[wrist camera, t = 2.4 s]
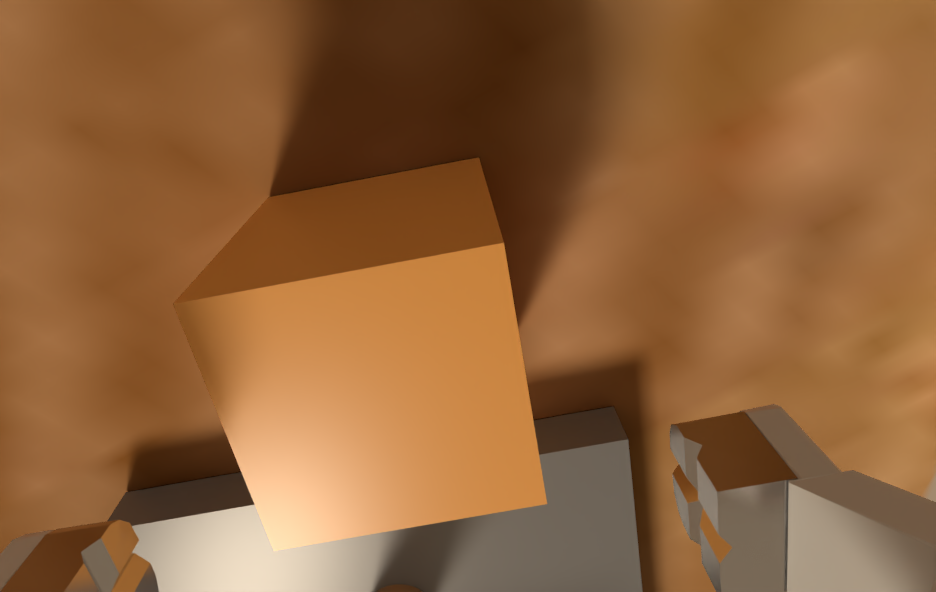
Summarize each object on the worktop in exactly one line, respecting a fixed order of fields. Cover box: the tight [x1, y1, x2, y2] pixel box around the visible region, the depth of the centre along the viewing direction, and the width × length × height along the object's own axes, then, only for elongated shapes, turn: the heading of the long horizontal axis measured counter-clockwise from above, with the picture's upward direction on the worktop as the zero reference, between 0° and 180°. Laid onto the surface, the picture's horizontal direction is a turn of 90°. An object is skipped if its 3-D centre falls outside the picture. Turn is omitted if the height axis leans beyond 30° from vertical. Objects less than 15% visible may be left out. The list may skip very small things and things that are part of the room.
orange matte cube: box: [173, 157, 547, 551], centre depth 13 cm, size 5×5×6 cm
